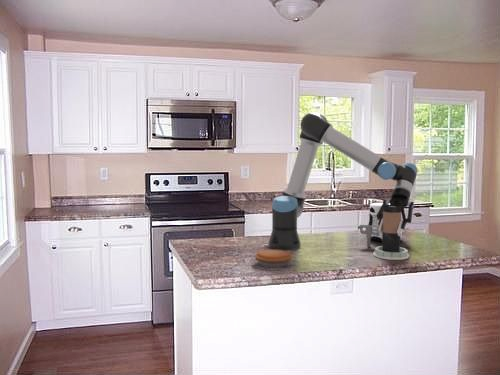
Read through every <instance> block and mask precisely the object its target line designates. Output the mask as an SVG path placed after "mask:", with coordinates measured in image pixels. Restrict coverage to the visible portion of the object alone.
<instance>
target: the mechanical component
mask: <svg viewBox="0 0 500 375" xmlns="http://www.w3.org/2000/svg"><path fill="white" fill-rule="evenodd" d="M378 229H379V226H377V228H376V229H373V228H372V225H368V224H359V225H358V226H357V230H359V233H361V234H362V235H366V237H365V238H366V239H367V240H366V246H367V248H370V247H371V245H372V244H371V240H372V239H371V237H372V234H378V233H379V231H378ZM372 231H377V232H376V233H374V232H372Z"/></svg>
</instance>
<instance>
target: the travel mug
mask: <svg viewBox="0 0 500 375" xmlns="http://www.w3.org/2000/svg"><path fill="white" fill-rule="evenodd" d="M401 214H402V213H401V206H400V205H384V206H383V228H382V231H383V232H382V241H381V242H382V244H381V246H382V250H383V251H385V252H399V251H400V247H401V239H400V236H401V234H400V236H398V234H397V230H398V227H399V224H400V221H401V220H402V215H401Z"/></svg>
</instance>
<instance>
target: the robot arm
mask: <svg viewBox="0 0 500 375" xmlns="http://www.w3.org/2000/svg"><path fill="white" fill-rule="evenodd" d="M298 138H299V140H300V144H299V148H298V152H297V154H296V159H295V162H294V165H293V168H292V171H291V174H290V177H289V182H288V184H287V187H286V188H285V189H284V190H282V194H281V195H280V196H276V197H274V198H273V199H272V204H271V209H272V212H271V213H272V215H271V217H272V218H271V219H272V221H271V222H272V224H271V225H272V227H271V228H272V230H271V233H270V236H269V239H268V247H269V249H272V250H283V251H288V250H290V251H291V250H298V249H300V248H301V240H300V235H299V233H298V218H299V217H300V216H301V215H302V213H303V211H304V204H305V202H306V198H307V197H306V195H305V191H306V187H307V185H308V181H309V178H310V174H311V172H312V168H313V166H314V161H315V159H316V154H317V151H318V149H319V147H320V146H322V145H323V143H324V144H326V145H327V146H330V147H331V148H333V149H335V150H336V151H338V152H340V153H342V155H344V156H346V157H347V158H349V159H351V160H352V161H354V162H355V163H357V164H359V165H361V166H363V168H366V169H367V170H368V171H370V172H372V173H373V174H375V175H377V176H378V177H379V178H381V180H382V179H383V180H385V181H387V180H392V181H395V182H396V183H395V185H394V188H393V191H392V194H391V197H390V199H388V200H386V199H383V200H382V203H383V204H382V206H381V208H380V210H379V212H378V214H377V215H376V216H377V219H378V220H379V223H378V225H379V229H378V231H379V234H381V233H382V228H383V206H384V205H388V204H389V203H390V205H400V206H401V214H402V215H401V221H400V224H399V227H398V230H397V234H398V236H400V234H401V231H402V229H403V230H404V229H405V228H406V225H407V224H411V223H412V219H413V209H414V208H415V203H414V202H413V201H410V197H411V194H412V191H413V188H414V185H415V182H416V178H417V177H418V176H417V175H418V168H417V166H416V165H415V164H414V163H411V162H405V163H403V164H402V165H400V164H397V163H394V162H392V161H389V160H387V159H385V158H383V157H382V156H380V155H379V154H377V153H375V152H374V151H372V150H371V149H369V148H367V147H366V146H364V145H362V144H360V143H358V142H357V141H355V140H354V139H353V138H351V137H349V136H347V135H346V134H344V133H343V132H341V131H339V130H337V129H336V128H334V127H333V124H332V123H331V122H329V121H328V120H327V117H325V116H324V115H323V114H320V113H319V112H309V113H306V114H305V115H304V116H303V117H302V119H301V120H300V135H299V136H298ZM407 206H408V210H407V217H406V213H405V212H406V211H405V208H406V207H407Z"/></svg>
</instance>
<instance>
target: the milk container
mask: <svg viewBox="0 0 500 375" xmlns="http://www.w3.org/2000/svg"><path fill="white" fill-rule="evenodd" d="M382 204H383V202H373V203H370V204H369V214H368V216H369V220H368V224H367V225H372V228H373V229H376V228H377V226H379V225H378V223H379V220H378V219H377V216H376V215H377V214H378V212H379V210H380V208H381V206H382ZM388 205H390V203H389V204H388ZM401 216H402V213H401ZM403 231H404V229H402V231H401V236H400V240H401V239H402V238H403V233H404V232H403ZM372 232H374V233H376V232H377V231H372ZM382 232H383V231H382ZM371 240H374V241H376V242H377V241H378V242H382V233H381V234H379V233H378V234H372V237H371Z"/></svg>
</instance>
